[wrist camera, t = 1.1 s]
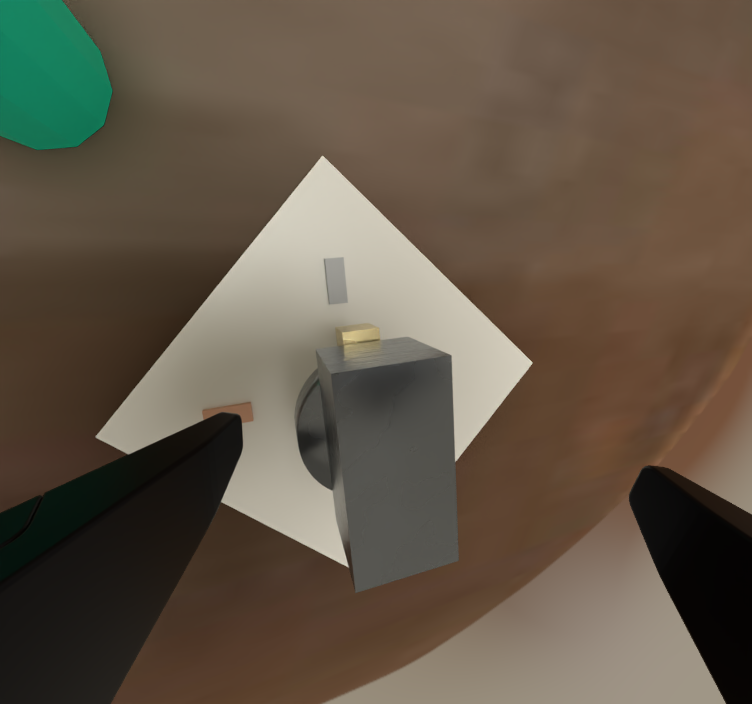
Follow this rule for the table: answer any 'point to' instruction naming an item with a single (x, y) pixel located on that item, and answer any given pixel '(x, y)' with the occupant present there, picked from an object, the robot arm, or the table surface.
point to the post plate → (310, 348)
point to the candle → (49, 76)
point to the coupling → (383, 451)
